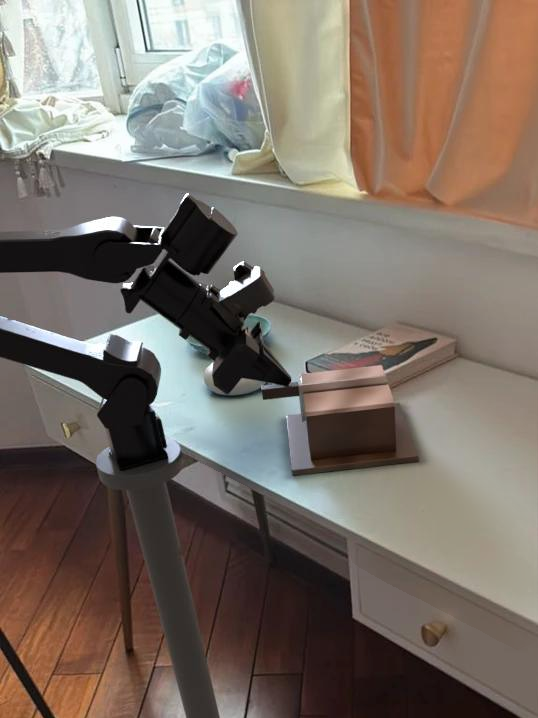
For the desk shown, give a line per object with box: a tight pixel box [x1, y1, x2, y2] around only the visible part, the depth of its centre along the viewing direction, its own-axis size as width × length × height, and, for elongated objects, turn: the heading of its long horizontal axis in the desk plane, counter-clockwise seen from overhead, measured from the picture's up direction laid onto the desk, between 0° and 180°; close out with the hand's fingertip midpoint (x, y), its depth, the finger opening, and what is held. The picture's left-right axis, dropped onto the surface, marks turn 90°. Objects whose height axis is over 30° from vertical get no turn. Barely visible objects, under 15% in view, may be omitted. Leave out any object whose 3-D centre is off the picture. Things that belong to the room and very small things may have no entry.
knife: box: [260, 374, 388, 422], centre depth 109 cm, size 16×1×5 cm, turn 95°
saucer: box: [185, 313, 273, 356], centre depth 143 cm, size 15×15×3 cm
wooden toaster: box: [286, 364, 420, 476], centre depth 111 cm, size 16×16×7 cm
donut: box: [203, 362, 267, 397], centre depth 129 cm, size 10×4×10 cm
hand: (289, 382), depth 107 cm, fingers closed, pressing on knife
